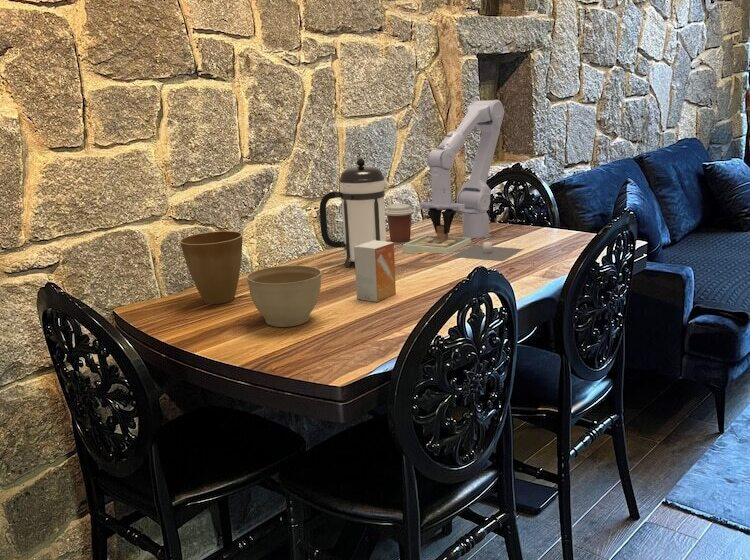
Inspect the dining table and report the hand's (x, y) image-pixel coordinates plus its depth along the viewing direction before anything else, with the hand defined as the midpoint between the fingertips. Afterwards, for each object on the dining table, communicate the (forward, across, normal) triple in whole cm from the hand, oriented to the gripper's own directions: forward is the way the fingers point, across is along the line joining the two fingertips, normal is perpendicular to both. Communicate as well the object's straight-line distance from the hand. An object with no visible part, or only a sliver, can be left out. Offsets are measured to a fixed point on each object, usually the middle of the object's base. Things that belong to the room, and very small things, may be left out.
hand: (442, 232), depth 222 cm
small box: (+5, +10, -55) cm, 56 cm away
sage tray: (+4, 0, -4) cm, 6 cm away
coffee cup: (+5, -16, +1) cm, 17 cm away
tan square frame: (+3, 0, -4) cm, 5 cm away
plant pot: (+5, -25, -73) cm, 77 cm away
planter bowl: (+5, +2, -79) cm, 79 cm away
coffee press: (+5, -12, -28) cm, 31 cm away
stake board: (+4, +18, -7) cm, 20 cm away
